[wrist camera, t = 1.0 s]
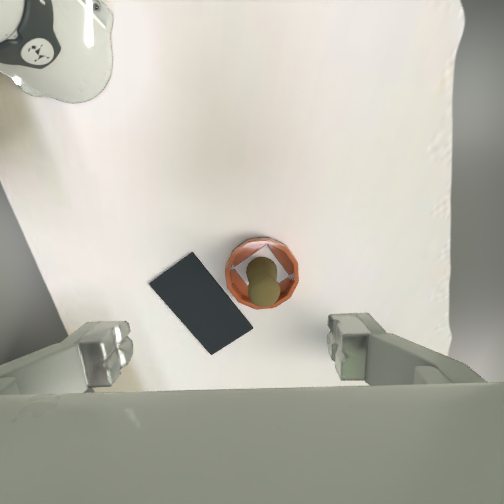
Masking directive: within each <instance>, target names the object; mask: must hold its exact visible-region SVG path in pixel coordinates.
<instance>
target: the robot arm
mask: <svg viewBox="0 0 504 504" xmlns="http://www.w3.org/2000/svg"><path fill="white" fill-rule="evenodd" d="M96 7H99V8H98V10H96ZM112 24H113V15H112V12H111V11H110V9H109V8H108V7H107V6H106V5H105V4H104V3H103V2H102V1H101V0H0V72H1V73H3V74H5V75H7V76H9V77H10V78H12V79H13V80H14V81H15V83H16V84H18V85H20V87H21V89H22V90H23V91H24V92H26V93H27V94H29V95H31V96H49V97H52V98H55V99H57V100H60V101H63V102H67V103H82V102H86V101H88V100H90V99H92V98H94V97H95V96H97V95H98V94H99V93H100V92H101V91H102V90H103V88H104V87H105V86H106V84H107V82H108V80H109V77H110V74H111V70H112V48H111V42H110V34H111V29H112ZM328 327H329V329H330V332H329V333H328V335H327V345H328V351H329V355H330V357H331V359H332V360H333V361H335V368H336V371H337V373H338V375H339V377H340V379H341V380H365V382H366V383H368V384H369V385H370V386H334V387H296V388H258V389H219V390H180V391H142V392H103V393H83V392H84V391H86V390H87V389H88V388H92V387H110V386H112V385H113V383H114V382H115V381H116V379H117V378H118V377H119V375H120V374H121V371H120V369H121V368H123V367H125V366H126V365H127V364H128V363H129V361H130V360H131V357H132V354H133V342H132V340H131V339H130V338H129V337H128V335H129V333H130V327H129V323H128V322H127V321H95V322H87V323H85V324H84V325H83V326H81V327H80V328H79V329H78V330H76V331H75V332H74V333H72V334H71V335H70V336H69V337H67V338H66V339H65V340H63V341H62V342H61V343H59V344H54V345H51V346H49V347H46V348H44V349H41V350H38V351H36V352H33V353H31V354H28V355H26V356H23V357H21V358H18V359H16V360H13V361H11V362H8V363H5V364H3V365H0V504H504V382H492V383H488V382H486V381H485V380H484V379H483V378H482V377H481V376H479V375H478V374H477V373H476V372H475V371H473V370H472V369H471V368H470V367H468V366H467V365H466V364H464V363H462V362H459V361H457V360H454V359H452V358H450V357H447V356H445V355H443V354H440V353H438V352H435V351H433V350H430V349H428V348H426V347H423V346H421V345H418V344H416V343H413V342H411V341H409V340H406V339H404V338H401V337H399V336H396V335H394V334H388V333H387V332H386V331H385V330H384V329H383V328H382V327H381V326H380V325H379V324H378V323H377V322H376V321H375V319H374V318H373V317H372V316H371V315H370V314H369V313H348V314H331V315H329V316H328Z"/></svg>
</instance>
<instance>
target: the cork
mask: <svg viewBox="0 0 504 504" xmlns="http://www.w3.org/2000/svg"><path fill="white" fill-rule="evenodd" d="M246 273H247V277H248V280H249V285H248V296H249V298H250V300H251V301H252V302H253V303H254V304H255V305H257V306H260V307H268V306H271V305H273V304H274V303H275V302H276V301H277V300H278V298H279V295H280V287H279V284H278V282H277V281H276V277H277V268H276V265H275V263H274V262H273V261H272V260H271V259H269V258H266V257H258V258H255V259H253V260H252V261H251V262H250V263H249V264H248V267H247V271H246Z"/></svg>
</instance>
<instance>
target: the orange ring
mask: <svg viewBox="0 0 504 504" xmlns="http://www.w3.org/2000/svg"><path fill="white" fill-rule="evenodd" d="M265 244H270V245H268V246H269V248H270V249H271V251H272V252H273V253H274V255H275V256H276V258H277V259H278V260H279V262H280V263H281V264H282V266H283V267H284V269H285V270H286V271H287V273H288V274H289V275H290V274H291V273H293V277H292V279H291V280H290V279H289V277H288V278H287V279H285V280H283V281H282V282H280V283H279V287H280V295H279V298H278V300H277V301H276V302H275V303H274V304H273V305H271V306H268V307H260V306H257V305H255V304H254V303H253V302H252V301H251V300H250V298H249V296H248V286H247V284H246V283H245V282H244V281H243V279H242V278H241V277H240V275H239V274H238V273H237V272H236V270H235V269H233V270H232V271H231V266H232V264H233V265H234V266H236V265H238V264H239V263H241V262H242V261H243V260H245V259H246V258H248V257H249V256H251V255H252V254H254V253H255V252H256V251H258V250H259V249H261V248H262V247H264V246H265ZM225 274H226V282H227V288H228V290H229V291H230V292H231V293H232V295H233V296H234V297H235V298H236V300H237V301H238V302H239V303H242V304H244V305H246V306H249V307H251V308H254V309H267V308H274V307H277V306H278V305H280V304H281V303H283V302H284V301H286V300H288V299H289V298H290V297H291V296H292V294H293V292H294V290H295V288H296V286H297V284H298V281H299V272H298V262H297V261H296V259H295V258H294V256H293V255H292V253H291V252H290V250H289V249H288V248H287V246H286V245H285V244H283V243H280V242H278V241H277V240H274V239H272V238H269V237H263V238H260V237H259V238H253V239H248V240H247V241H245V242H244V243H242V244H241V245H240V246H238V247H237V248H235V249H234V250H233V252H232V254H231V257H230V258H229V261H228V263H227V265H226V268H225ZM233 283H234V284H233ZM236 287H237V288H238V289H237V288H236ZM285 290H286V291H285ZM240 292H241V293H240ZM282 292H283V293H282Z"/></svg>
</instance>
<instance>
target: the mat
mask: <svg viewBox="0 0 504 504" xmlns="http://www.w3.org/2000/svg"><path fill="white" fill-rule="evenodd" d="M149 285H150V286H151V287H152V288H153V289H154V290H155V292H156V293H157V294H158V295H159V296H160V297H161V298H162V300H163V301H164V302H165V303H166V304H167V305H168V306H169V308H170V309H171V310H172V311H173V312H174V313H175V314H176V316H177V317H178V318H179V319H180V320H181V321H182V322H183V323H184V325H185V326H186V327H187V328H188V329H189V330H190V331H191V333H192V334H193V335H194V336H195V337H196V338H197V339H198V341H199V342H200V343H201V344H202V345H203V346H204V347H205V349H206V350H207V351H208V352H209V353H210V354H211V355H212V354H214V353H216V352H217V351H219V350H220V349H222V348H223V347H225V346H227V345H228V344H230V343H231V342H233V341H234V340H236V339H238V338H239V337H241V336H242V335H244V334H245V333H247V332H249V331H250V330H252V329H253V327H252V325H251V324H250V323H249V322H248V320H247V319H246V318H245V317H244V315H243V314H242V313H241V312H240V310H239V309H238V308H237V307H236V305H235V304H234V303H233V302H232V300H231V299H230V298H229V297H228V295H227V294H226V293H225V292H224V291H223V289H222V288H221V287H220V286H219V284H218V283H217V282H216V281H215V279H214V278H213V277H212V276H211V274H210V273H209V272H208V271H207V269H206V268H205V267H204V266H203V264H202V263H201V262H200V261H199V259H198V258H197V257H196V256H195V254H194V253H193V252H192V253H191V254H189V255H188V256H187V257H185V258H184V259H182V260H181V261H180V262H178V263H177V264H175V265H174V266H173V267H171V268H170V269H169V270H167V271H166V272H164V273H163V274H162V275H160V276H159V277H158V278H156V279H155V280H153V281H152V282H151V283H149Z"/></svg>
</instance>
